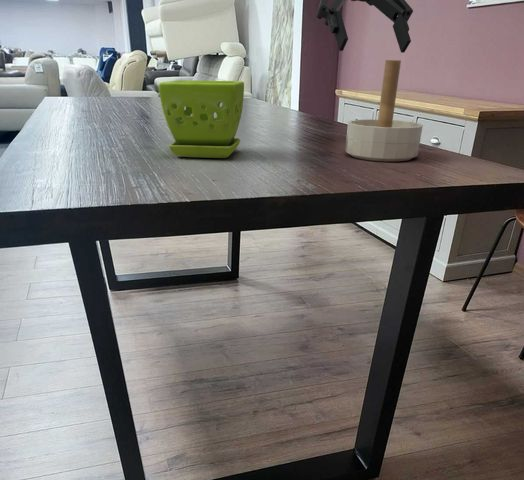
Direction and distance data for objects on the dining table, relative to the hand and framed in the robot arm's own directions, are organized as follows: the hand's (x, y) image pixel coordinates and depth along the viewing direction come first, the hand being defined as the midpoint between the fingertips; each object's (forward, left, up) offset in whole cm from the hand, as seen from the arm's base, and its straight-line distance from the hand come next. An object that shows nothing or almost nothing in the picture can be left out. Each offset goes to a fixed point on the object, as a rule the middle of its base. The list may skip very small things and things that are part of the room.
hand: (375, 46), depth 95 cm
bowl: (0, +7, -19) cm, 20 cm away
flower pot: (+34, -1, -19) cm, 39 cm away
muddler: (0, +7, -18) cm, 20 cm away
